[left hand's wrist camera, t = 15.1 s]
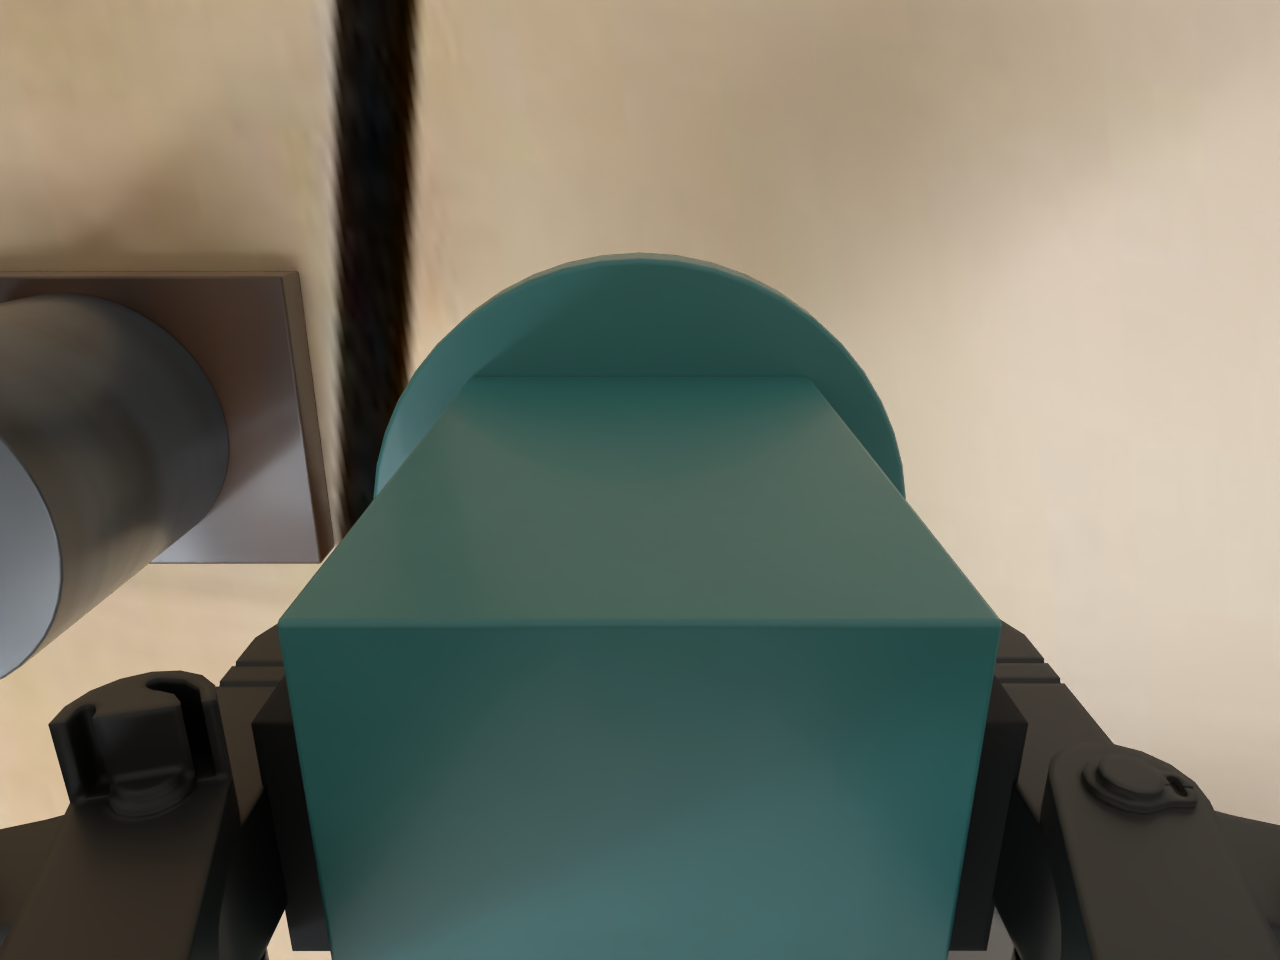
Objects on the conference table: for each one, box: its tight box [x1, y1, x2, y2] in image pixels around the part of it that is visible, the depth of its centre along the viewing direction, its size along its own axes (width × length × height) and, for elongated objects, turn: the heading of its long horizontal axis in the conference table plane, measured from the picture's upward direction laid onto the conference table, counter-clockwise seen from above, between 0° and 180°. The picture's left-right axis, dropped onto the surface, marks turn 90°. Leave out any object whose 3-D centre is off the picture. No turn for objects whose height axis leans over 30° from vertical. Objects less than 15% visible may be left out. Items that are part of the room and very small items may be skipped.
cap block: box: [277, 253, 1002, 960], centre depth 12 cm, size 9×9×9 cm
